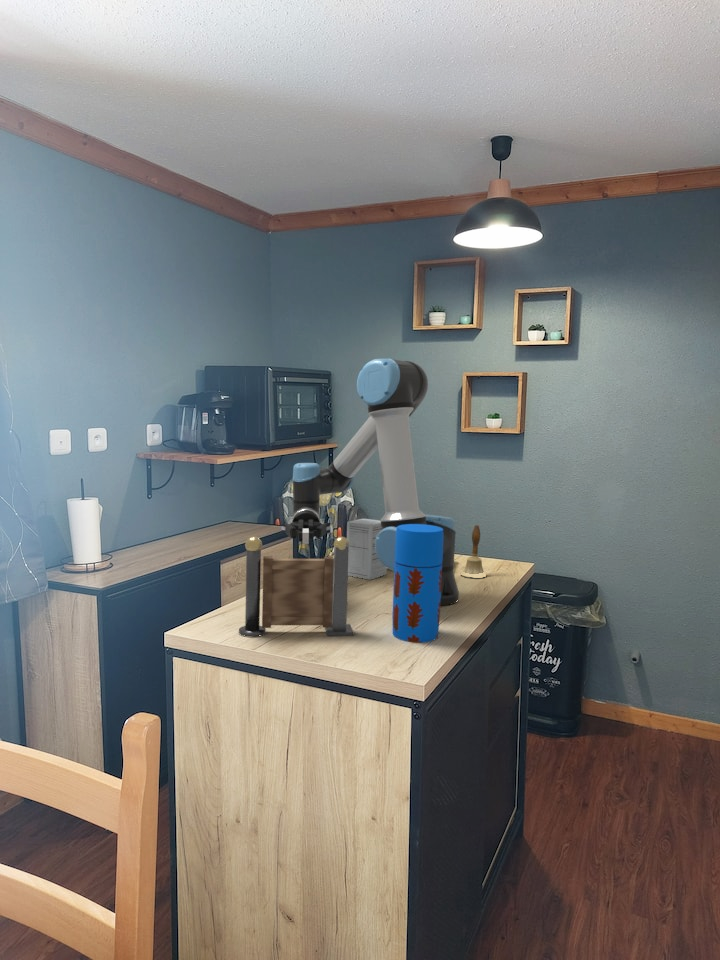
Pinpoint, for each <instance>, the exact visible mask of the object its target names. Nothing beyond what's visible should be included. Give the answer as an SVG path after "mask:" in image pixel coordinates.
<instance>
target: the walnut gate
mask: <svg viewBox="0 0 720 960" xmlns="http://www.w3.org/2000/svg"><path fill="white" fill-rule="evenodd" d="M333 570H334V556H324V557H323V558H275V557H274V558H273V556H271V555H263V563H262V605H261V606H262V609H261V611H262V612H261V613H262V616H261V617H262V618H261V626H262V628H265V629H271V628H272V626H322V628H324V629H325V628H332V604H333Z"/></svg>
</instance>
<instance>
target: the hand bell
mask: <svg viewBox="0 0 720 960" xmlns="http://www.w3.org/2000/svg"><path fill="white" fill-rule="evenodd" d="M480 540H481V530H480V525H477V524H475V525H474V527H473V530H472V533H471V541H472V552H471V556H469V557H467V559H466V564H465V567H464V569H462V571H463V572H465V573H469V574H479V573H483V572H485V571H484V567H483V561H482V558H480V557H479V556H478V552H479V549H478V548H479V544H480Z"/></svg>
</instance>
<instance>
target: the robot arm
mask: <svg viewBox="0 0 720 960" xmlns="http://www.w3.org/2000/svg"><path fill="white" fill-rule="evenodd" d="M428 387H429V380H428V376H427V373H426V372H425V370H424V369H423V367H421V366H420V365H419V364H417V363H415V362H414V361H409V360H399V359H393V358H387V357H385V358H375V359H374V358H373V359H372V360H370V361H368V362H367V363H366V364H364V365H363V367H362V369H361V370H360V371H359V373H358V375H357V380H356V390H357V393H358V396H359V398H360V399H361V400H362V401H363V402H364V403H366V405H367V412H368V416H369V417H368V418H367V419H366V420H365V422H364V423H363V425H361V427H360V428H359V429H358V431H357V432H356V433H355V434H354V435H353V436H352V438H351V439H350V440H349V441H348V443H347V444H346V445H345V446H344V447H343V449H342V450H341V452H340V453H339V454H338V455H337V456H336V458H335V459H334V460H333V461H332V462H331V464H330V465H328V467H326V468H320V465H319V464H318V463H316V462H315V463H314V462H298V463H295V464H294V465H293V469H292V479H291V480H292V522H290V523H289V522H288V523H286V522H282V523H281V534H286V535H287V536H288V537H289V538H291V539H296V537H297V542H300V543H301V542H302V545H308V544H309V543H310V541H309V540H314V539H315V538H316V539H321V538H322V537H324V536H326V534H330V533H331V523H330V522H325V523H323V522H321V519H320V518H321V515H320V502H321V501H320V496H321V495H329V494H339V493H344V492H347V491H349V490H350V489H351V488H352V487H353V486H354V480H355V476H356V474H357V473H358V472H359V471H360V470H361V468H362V467H363V466H364V465H365V463H367V461H368V460H369V459H370V458H371V457H372V456H373V454H375V452H376V451H377V450H378V456H379V464H380V465H379V466H380V474H381V484H382V490H383V491H382V493H383V501H384V510H385V512H384V515H383V516H382V517H381V518H380V521H381V528H382V531H380V532H379V534H378V536H377V537H376V540H375V551H376V554H377V557H378V558H379V560H380V562H381V563H382V564H384V565H385V566H386V569H388V570H391V572H394V564H395V539H396V530H397V527H398V526H399V525H405V524H424V525H433V526H438V527H441V528H442V529H443V536H444V538H443V559H442V580H441V602H440V607H442V606H441V605H443V606H448V605H447V604H450V605H452V604H451V603H454V602H456V601H457V600H458V599H459V597H460V592H459V587H458V585H457V581H456V577H455V572H454V566H455V563H454V562H455V549H456V547H455V546H456V545H455V544H456V534H457V529H456V521H455V519H454V518H452V517H448V516H443V515H435V514H425V513H424V512H423V511H422V510H421V509H420V506H419V498H418V490H417V482H416V481H417V480H416V472H415V461H414V455H413V445H412V436H411V426H410V420H409V418H410V417H411V416H412V415H413V414H414V412H415V411H417V409H418V408H419V407H420V405H421V404H422V402H423V401H424V399H425V397H426V395H427V393H428V389H429V388H428ZM309 545H310V544H309ZM458 601H459V600H458ZM456 603H457V602H456ZM454 604H455V603H454Z"/></svg>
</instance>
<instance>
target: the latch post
mask: <svg viewBox="0 0 720 960" xmlns="http://www.w3.org/2000/svg"><path fill="white" fill-rule="evenodd" d="M348 556H349V541H348V539H347V537H345V536H338V537H336V538H335V540H333V558H334V570H333V604H332V628H324V630H325V634H326V636H327V637H343V636H346V637H347V636H349V637H350V636H351V637H352V636H354V630H353V627H352V626H351V623H347V615H348V614H347V611H348V586H349V585H348V583H349V581H348V580H349V576H348Z"/></svg>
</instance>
